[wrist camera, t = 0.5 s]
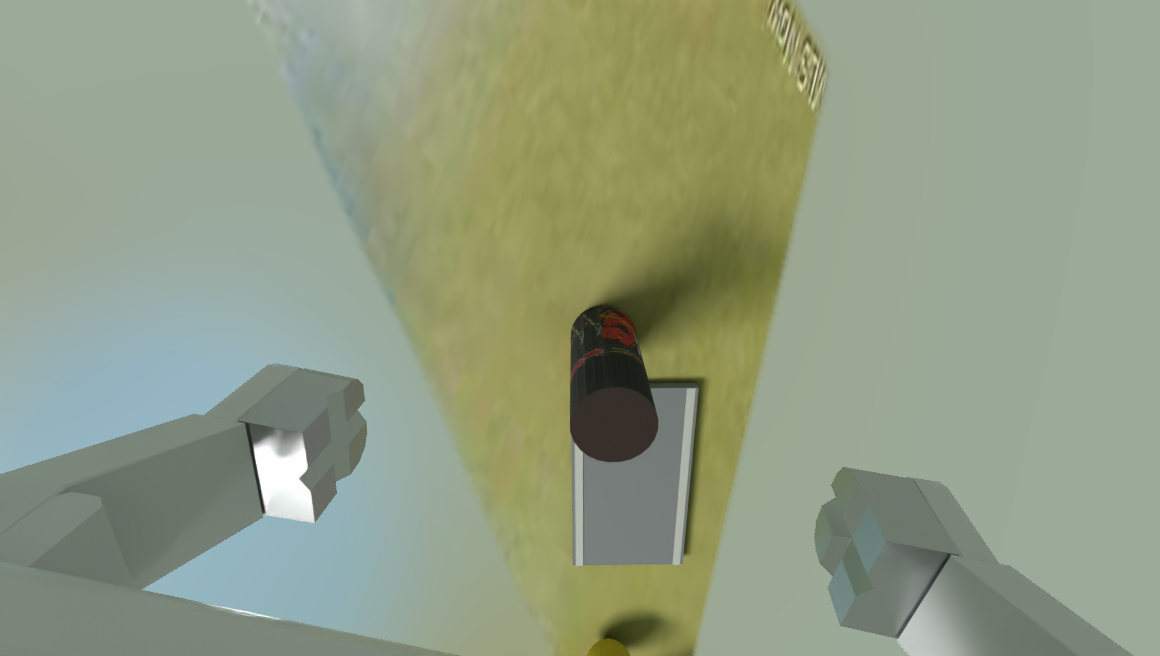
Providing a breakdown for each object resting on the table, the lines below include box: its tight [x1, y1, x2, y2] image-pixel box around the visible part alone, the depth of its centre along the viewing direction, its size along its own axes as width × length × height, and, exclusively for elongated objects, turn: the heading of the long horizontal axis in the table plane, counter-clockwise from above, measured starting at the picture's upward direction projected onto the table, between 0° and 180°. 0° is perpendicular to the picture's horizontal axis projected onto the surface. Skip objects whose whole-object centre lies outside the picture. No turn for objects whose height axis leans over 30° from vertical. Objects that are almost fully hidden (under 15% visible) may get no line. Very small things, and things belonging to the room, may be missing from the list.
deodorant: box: [570, 306, 658, 462], centre depth 43 cm, size 6×6×15 cm
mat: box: [572, 383, 699, 566], centre depth 56 cm, size 22×12×1 cm, turn 0°
